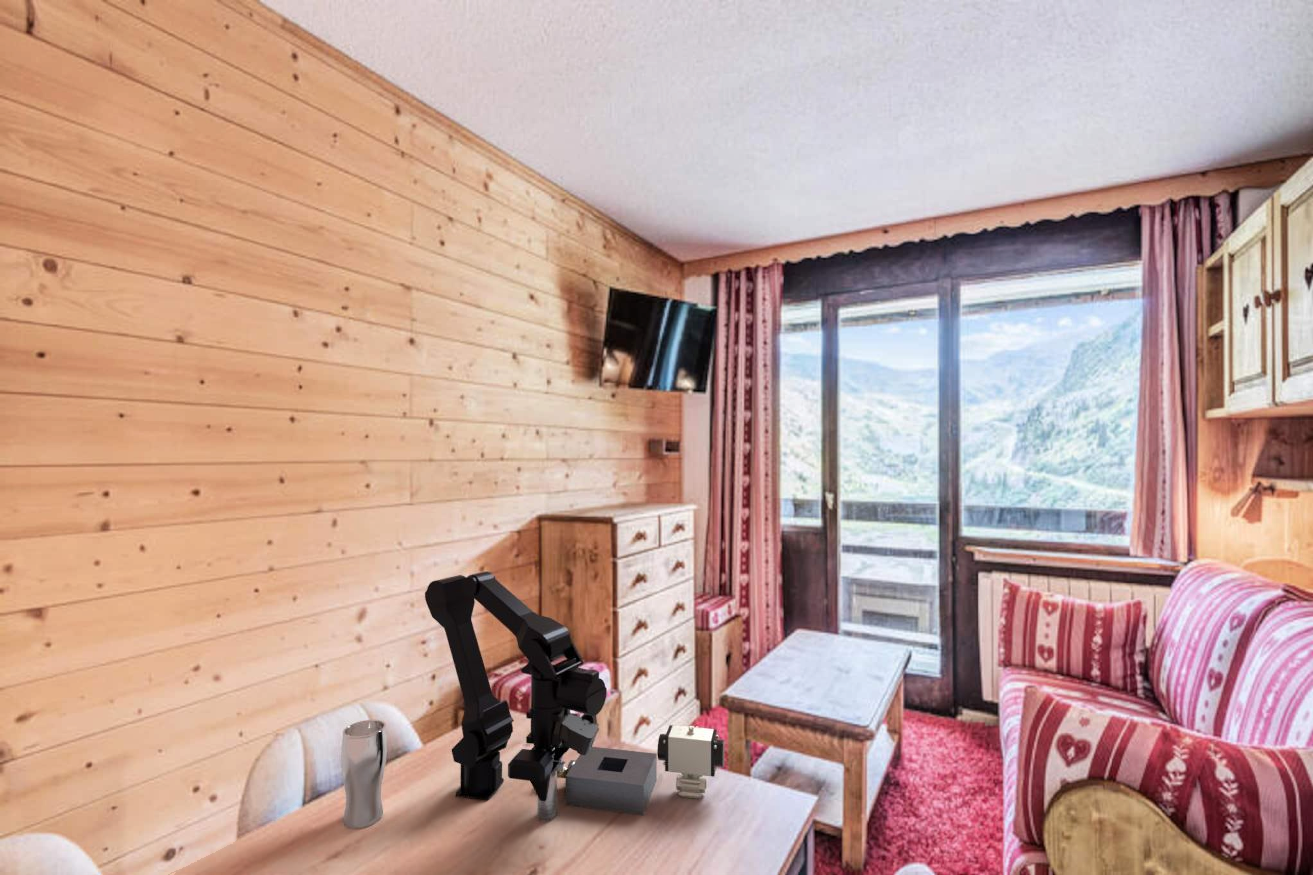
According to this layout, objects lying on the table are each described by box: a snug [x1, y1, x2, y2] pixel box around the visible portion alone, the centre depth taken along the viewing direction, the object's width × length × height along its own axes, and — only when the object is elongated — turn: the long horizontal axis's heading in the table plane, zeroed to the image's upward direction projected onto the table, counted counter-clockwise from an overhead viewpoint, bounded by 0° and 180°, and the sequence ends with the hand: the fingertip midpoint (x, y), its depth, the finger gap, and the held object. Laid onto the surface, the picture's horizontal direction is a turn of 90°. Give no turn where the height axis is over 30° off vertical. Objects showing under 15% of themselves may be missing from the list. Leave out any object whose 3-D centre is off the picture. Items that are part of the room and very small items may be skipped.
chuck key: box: [537, 760, 566, 822], centre depth 102 cm, size 6×3×9 cm, turn 78°
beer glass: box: [340, 719, 388, 830], centre depth 102 cm, size 7×7×15 cm
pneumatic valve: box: [656, 724, 726, 800], centre depth 110 cm, size 6×12×12 cm, turn 78°
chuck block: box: [557, 746, 658, 816], centre depth 110 cm, size 20×11×5 cm, turn 78°
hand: (547, 794), depth 102 cm, fingers closed on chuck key, 3 cm apart
